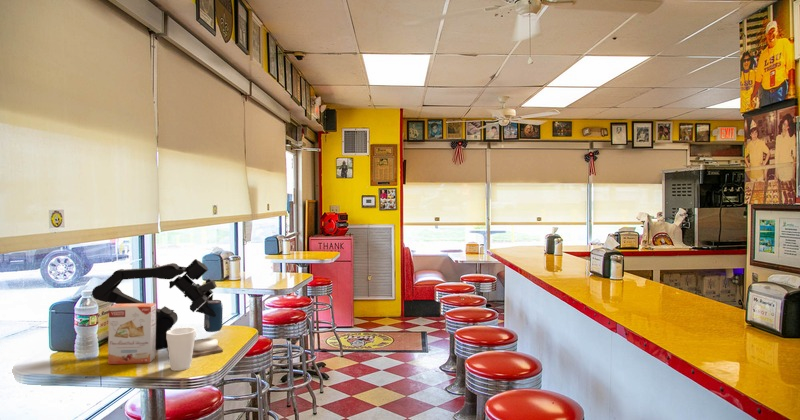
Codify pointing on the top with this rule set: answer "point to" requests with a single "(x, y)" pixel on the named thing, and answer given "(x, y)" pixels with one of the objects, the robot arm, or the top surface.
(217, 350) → the plinth board
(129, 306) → the cracker box
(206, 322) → the soda can
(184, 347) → the foam cup
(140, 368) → the top surface
